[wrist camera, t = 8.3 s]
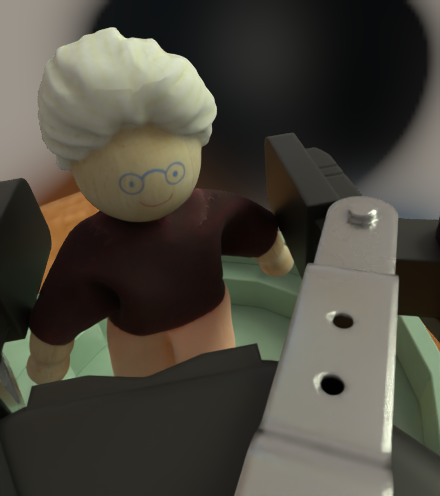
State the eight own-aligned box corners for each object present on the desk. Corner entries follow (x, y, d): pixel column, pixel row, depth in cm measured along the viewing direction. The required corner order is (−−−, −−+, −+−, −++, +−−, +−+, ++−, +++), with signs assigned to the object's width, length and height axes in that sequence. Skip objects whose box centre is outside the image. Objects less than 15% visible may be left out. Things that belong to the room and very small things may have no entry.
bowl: (-112, 781, 9) (-239, 785, 7) (55, 304, 21) (26, 248, 19) (556, 719, 9) (643, 704, 7) (350, 268, 21) (357, 207, 18)
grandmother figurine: (137, 558, 12) (-153, 131, 4) (82, 456, 14) (-164, 70, 7) (319, 394, 15) (351, -10, 7) (249, 334, 18) (217, -14, 10)
